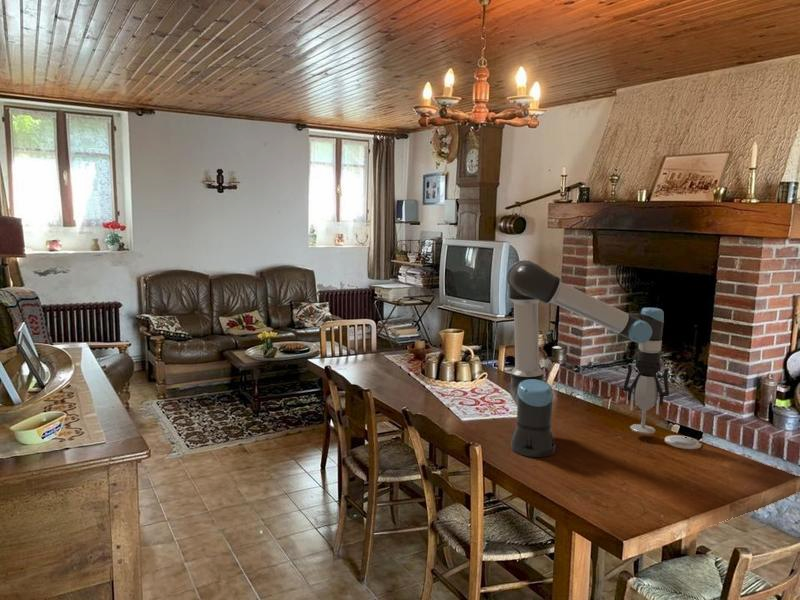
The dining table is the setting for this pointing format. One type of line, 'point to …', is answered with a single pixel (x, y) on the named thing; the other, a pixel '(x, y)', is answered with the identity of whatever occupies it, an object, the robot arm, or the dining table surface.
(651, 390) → the wineglass
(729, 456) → the dining table surface
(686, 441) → the light grey plate
